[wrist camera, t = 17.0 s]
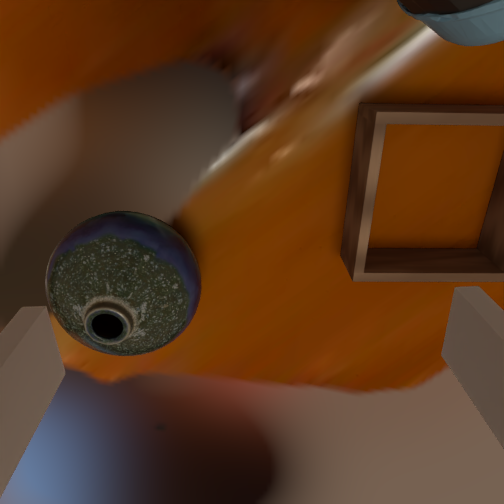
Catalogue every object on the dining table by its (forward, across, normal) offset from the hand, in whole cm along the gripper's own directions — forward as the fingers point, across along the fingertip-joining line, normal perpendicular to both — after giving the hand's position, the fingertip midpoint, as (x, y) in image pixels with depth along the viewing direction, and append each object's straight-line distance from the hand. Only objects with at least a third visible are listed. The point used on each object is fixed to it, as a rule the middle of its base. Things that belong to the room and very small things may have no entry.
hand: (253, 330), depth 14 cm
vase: (+33, -12, -13) cm, 38 cm away
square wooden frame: (+33, +20, -6) cm, 39 cm away
